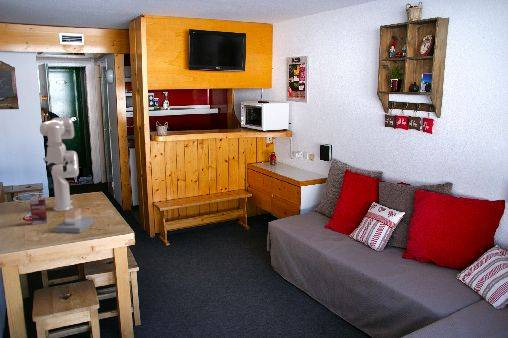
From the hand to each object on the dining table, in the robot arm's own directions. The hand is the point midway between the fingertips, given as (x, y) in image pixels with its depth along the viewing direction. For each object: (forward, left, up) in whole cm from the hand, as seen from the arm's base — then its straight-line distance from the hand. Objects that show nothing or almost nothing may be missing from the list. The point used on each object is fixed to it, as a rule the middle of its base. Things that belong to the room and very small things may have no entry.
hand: (57, 171), depth 276 cm
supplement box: (+7, -11, -32) cm, 35 cm away
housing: (+13, +15, -29) cm, 35 cm away
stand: (+13, +15, -32) cm, 38 cm away
